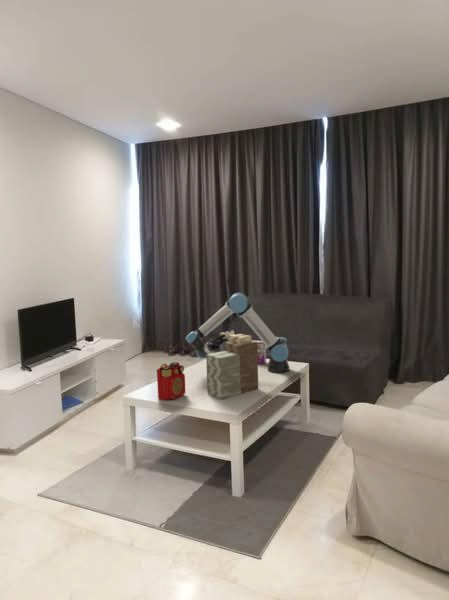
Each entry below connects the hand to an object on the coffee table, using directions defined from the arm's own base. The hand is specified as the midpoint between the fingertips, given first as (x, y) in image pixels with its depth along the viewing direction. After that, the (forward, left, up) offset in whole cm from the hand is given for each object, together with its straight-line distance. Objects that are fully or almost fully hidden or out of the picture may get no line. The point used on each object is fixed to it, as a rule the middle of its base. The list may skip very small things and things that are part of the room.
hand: (230, 332), depth 282 cm
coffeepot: (+11, -66, -34) cm, 76 cm away
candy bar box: (-14, -56, -34) cm, 67 cm away
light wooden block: (-2, +2, -5) cm, 5 cm away
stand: (-2, +12, -34) cm, 36 cm away
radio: (+33, +22, -34) cm, 52 cm away
